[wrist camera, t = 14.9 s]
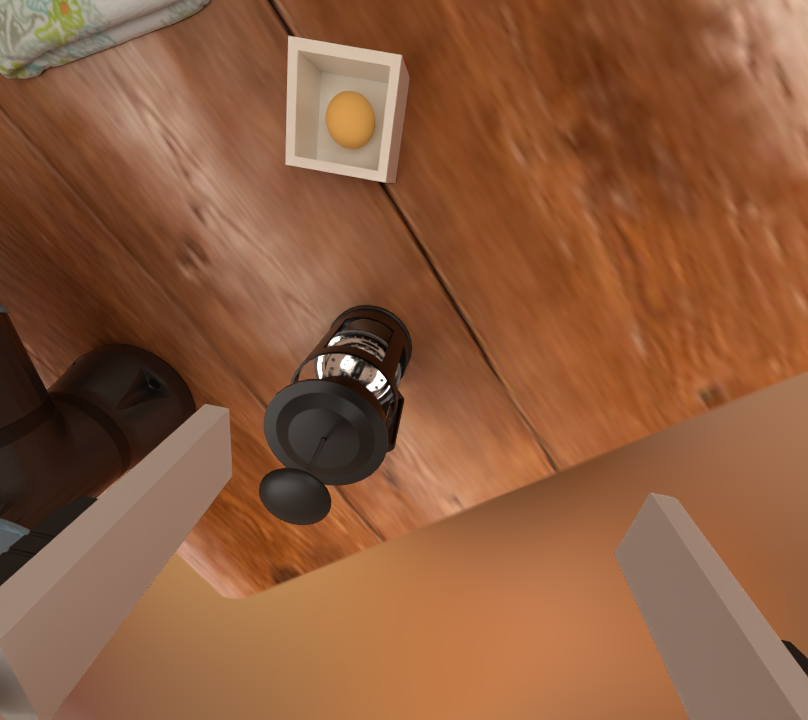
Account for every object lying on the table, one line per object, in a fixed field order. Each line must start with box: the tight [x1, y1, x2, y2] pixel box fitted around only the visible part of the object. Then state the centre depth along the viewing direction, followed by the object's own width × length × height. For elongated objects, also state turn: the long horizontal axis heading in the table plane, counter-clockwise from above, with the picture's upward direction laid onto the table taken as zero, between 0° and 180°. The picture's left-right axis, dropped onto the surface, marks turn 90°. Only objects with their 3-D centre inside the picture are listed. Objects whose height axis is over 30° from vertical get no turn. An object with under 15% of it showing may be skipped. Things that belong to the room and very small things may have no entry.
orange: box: [326, 91, 375, 149], centre depth 31 cm, size 4×4×4 cm
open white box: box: [285, 36, 410, 183], centre depth 30 cm, size 8×8×6 cm
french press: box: [259, 305, 412, 525], centre depth 31 cm, size 12×9×23 cm
